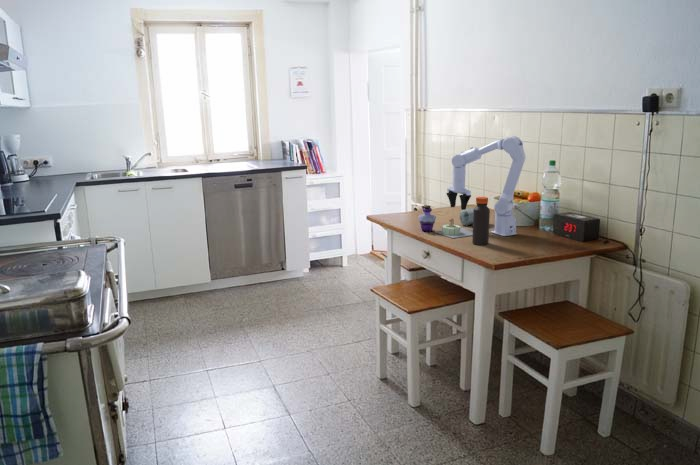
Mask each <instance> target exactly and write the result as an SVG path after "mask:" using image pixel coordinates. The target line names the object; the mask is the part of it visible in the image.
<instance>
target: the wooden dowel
mask: <svg viewBox="0 0 700 465" xmlns="http://www.w3.org/2000/svg"><path fill="white" fill-rule="evenodd" d="M448 225H449V227H450V228H454V225H455V220H454V218H452V217H451V218H449V220H448Z"/></svg>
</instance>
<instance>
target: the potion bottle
mask: <svg viewBox="0 0 700 465" xmlns="http://www.w3.org/2000/svg"><path fill="white" fill-rule="evenodd" d="M432 211H433V208H431V205H428V204H427V205H423V207H422V212H423V214H419V215H418V222H419V224H420V230H422V231H421V232H424V231H429V232H433V229H434V226H435V225H434V224H435V223H436V218H437V216H436V215H435V214H431V212H432ZM429 232H428V233H429Z"/></svg>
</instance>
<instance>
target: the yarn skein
mask: <svg viewBox="0 0 700 465" xmlns="http://www.w3.org/2000/svg"><path fill="white" fill-rule="evenodd" d="M474 208H475V207H472V208H466V209H465V210H461V211H460V212H459V220H460V223H461V224H462V225H463V226H470V225H472V226H473V210H474Z"/></svg>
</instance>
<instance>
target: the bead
mask: <svg viewBox="0 0 700 465" xmlns="http://www.w3.org/2000/svg"><path fill="white" fill-rule="evenodd" d="M460 228H461V226H460V225H458V224H454V228H450V227H449V224H443V225H442V226H441V231H442V233H443V234H447V235H457V234H460Z"/></svg>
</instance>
